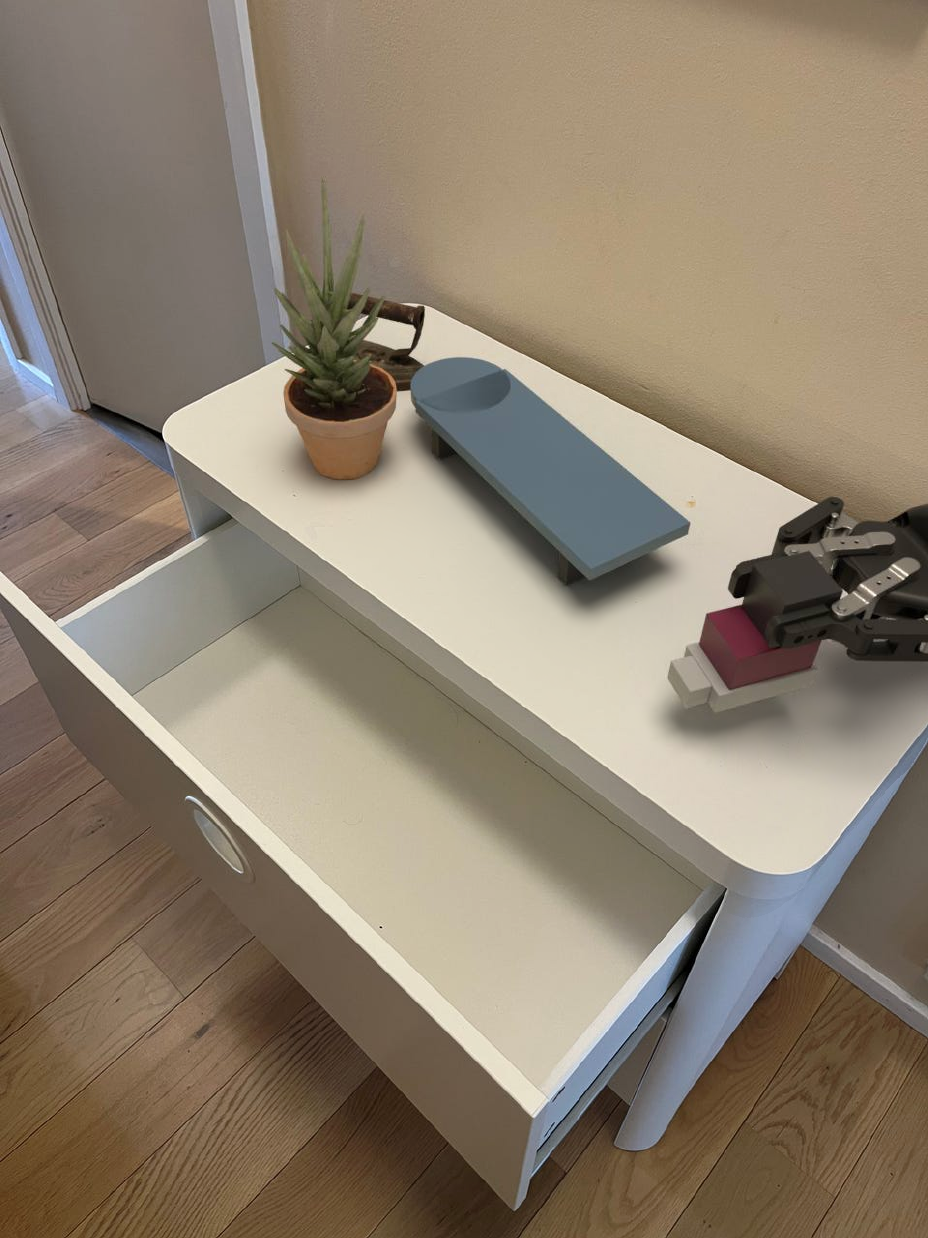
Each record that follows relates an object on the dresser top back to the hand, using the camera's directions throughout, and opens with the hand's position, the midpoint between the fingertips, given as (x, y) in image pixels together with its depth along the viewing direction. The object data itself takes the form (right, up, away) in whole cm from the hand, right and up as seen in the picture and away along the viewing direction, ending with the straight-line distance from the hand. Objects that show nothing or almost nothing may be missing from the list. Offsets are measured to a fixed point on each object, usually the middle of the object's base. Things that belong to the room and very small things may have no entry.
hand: (751, 608), depth 60 cm
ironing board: (-13, +10, +24) cm, 29 cm away
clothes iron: (-26, +23, +36) cm, 50 cm away
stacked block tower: (+1, -4, +5) cm, 7 cm away
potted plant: (-28, +14, +27) cm, 41 cm away
